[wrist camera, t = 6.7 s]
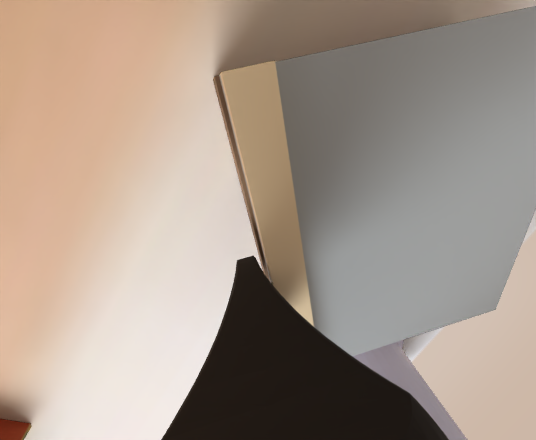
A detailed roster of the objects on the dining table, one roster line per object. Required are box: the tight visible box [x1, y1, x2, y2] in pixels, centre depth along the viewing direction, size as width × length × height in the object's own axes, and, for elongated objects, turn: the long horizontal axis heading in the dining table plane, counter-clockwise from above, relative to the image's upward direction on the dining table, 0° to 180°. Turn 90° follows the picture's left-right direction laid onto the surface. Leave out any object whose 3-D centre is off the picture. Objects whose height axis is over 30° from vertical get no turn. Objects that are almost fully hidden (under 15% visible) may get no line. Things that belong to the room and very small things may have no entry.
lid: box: [219, 6, 536, 356], centre depth 10 cm, size 14×12×2 cm
